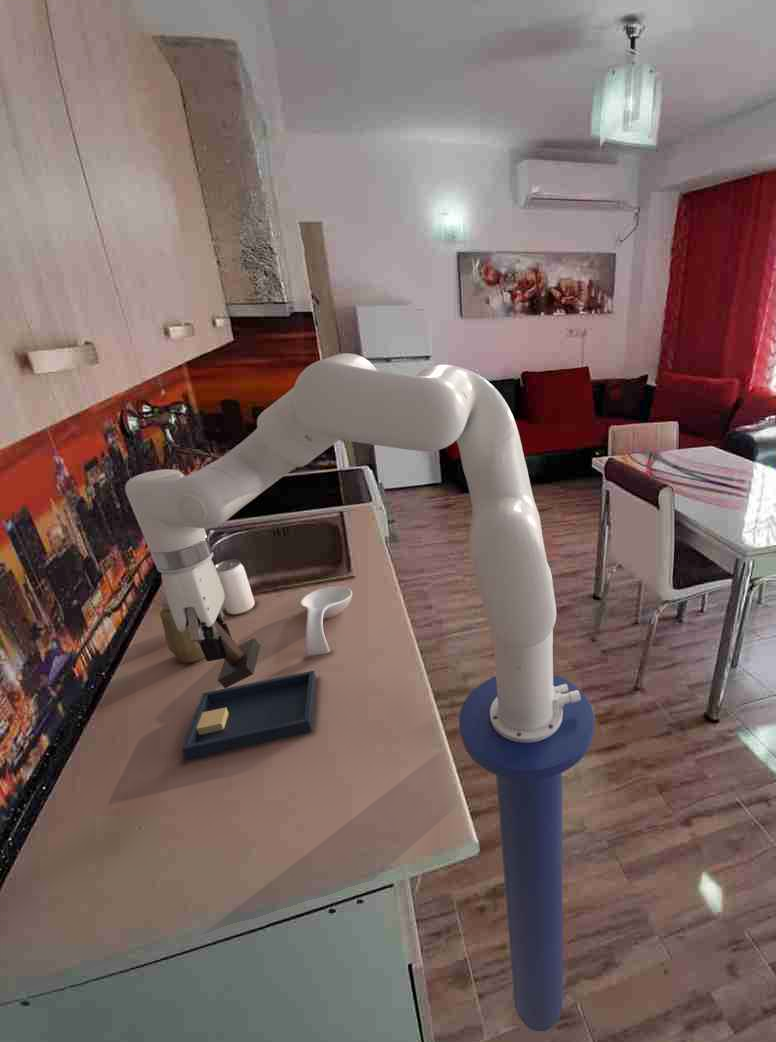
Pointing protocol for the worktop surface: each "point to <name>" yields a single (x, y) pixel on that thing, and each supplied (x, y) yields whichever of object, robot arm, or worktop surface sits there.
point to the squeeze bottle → (179, 637)
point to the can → (235, 587)
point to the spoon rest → (322, 615)
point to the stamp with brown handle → (236, 658)
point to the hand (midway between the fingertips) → (220, 651)
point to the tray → (255, 714)
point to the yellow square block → (212, 721)
